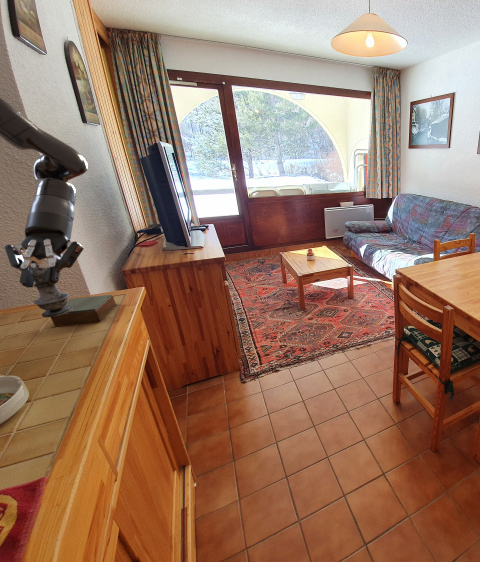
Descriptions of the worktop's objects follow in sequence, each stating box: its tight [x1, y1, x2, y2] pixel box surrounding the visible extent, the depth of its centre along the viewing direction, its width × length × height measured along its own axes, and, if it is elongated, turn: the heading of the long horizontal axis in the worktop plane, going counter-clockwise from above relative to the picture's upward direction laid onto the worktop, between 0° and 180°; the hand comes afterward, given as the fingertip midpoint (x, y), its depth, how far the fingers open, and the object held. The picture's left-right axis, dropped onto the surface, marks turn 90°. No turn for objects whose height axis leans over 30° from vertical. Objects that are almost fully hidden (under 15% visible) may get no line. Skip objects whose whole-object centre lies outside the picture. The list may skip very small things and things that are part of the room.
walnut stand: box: [50, 294, 117, 327], centre depth 86 cm, size 10×10×4 cm
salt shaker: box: [31, 264, 73, 318], centre depth 71 cm, size 6×6×12 cm
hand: (38, 285), depth 68 cm, fingers closed on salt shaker, 3 cm apart
